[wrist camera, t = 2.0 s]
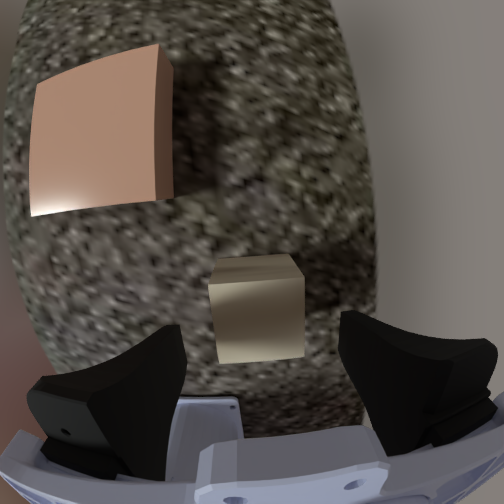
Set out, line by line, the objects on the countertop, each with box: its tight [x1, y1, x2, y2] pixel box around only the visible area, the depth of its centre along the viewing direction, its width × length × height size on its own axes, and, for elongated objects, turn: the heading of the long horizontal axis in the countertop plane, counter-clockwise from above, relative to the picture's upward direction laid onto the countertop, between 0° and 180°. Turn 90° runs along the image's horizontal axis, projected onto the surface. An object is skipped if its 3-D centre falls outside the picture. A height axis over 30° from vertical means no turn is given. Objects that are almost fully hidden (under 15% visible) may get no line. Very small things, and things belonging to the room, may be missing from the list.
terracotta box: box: [29, 44, 174, 217], centre depth 14 cm, size 9×9×4 cm
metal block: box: [208, 254, 305, 364], centre depth 16 cm, size 4×4×5 cm
